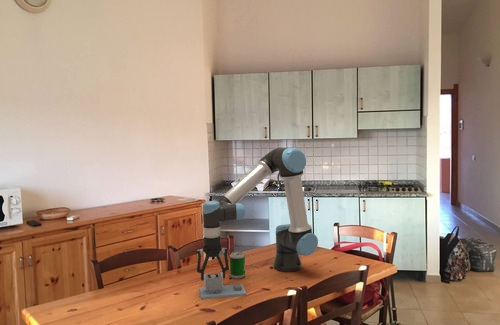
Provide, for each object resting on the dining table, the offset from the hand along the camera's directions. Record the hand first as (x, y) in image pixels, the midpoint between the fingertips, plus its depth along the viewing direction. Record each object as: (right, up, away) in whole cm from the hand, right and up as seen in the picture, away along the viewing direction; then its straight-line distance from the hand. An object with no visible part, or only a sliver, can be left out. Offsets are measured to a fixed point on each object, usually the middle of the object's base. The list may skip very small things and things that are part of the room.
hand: (213, 286), depth 191 cm
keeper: (+4, -3, +1) cm, 5 cm away
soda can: (+10, -2, +22) cm, 25 cm away
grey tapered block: (0, 0, 0) cm, 0 cm away
